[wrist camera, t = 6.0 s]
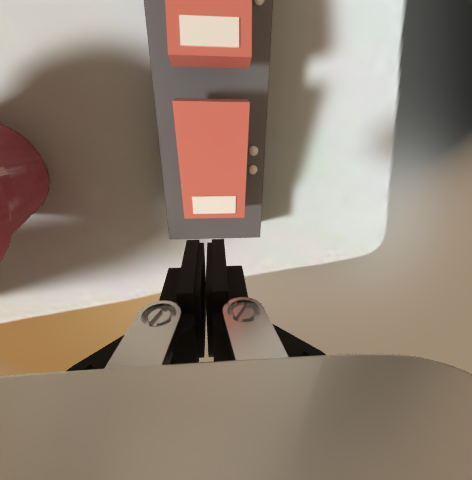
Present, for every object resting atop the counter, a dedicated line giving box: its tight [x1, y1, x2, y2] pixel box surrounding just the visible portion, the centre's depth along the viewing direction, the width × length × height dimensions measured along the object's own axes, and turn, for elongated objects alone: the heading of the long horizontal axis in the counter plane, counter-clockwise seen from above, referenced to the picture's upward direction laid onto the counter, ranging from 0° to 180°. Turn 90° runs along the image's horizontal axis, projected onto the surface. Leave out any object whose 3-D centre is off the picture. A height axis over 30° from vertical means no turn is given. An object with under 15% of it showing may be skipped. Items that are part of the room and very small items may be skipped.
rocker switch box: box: [144, 0, 273, 239], centre depth 21 cm, size 29×9×5 cm, turn 179°
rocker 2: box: [172, 98, 250, 219], centre depth 20 cm, size 9×5×2 cm, turn 179°
